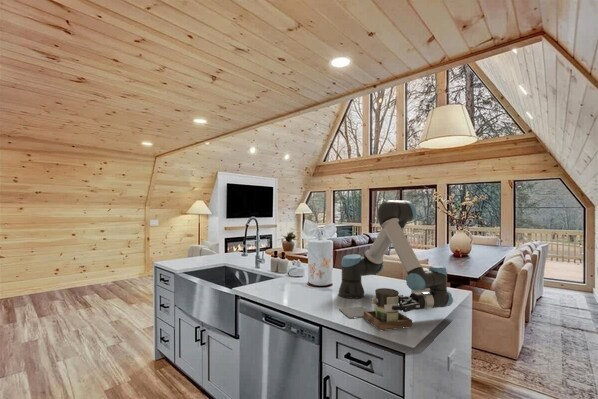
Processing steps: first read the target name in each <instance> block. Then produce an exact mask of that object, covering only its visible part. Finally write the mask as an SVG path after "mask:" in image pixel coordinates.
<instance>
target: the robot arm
mask: <svg viewBox="0 0 598 399" xmlns="http://www.w3.org/2000/svg"><path fill="white" fill-rule="evenodd" d="M376 214H377V216H376V217H377V220H378V223H379V226H380V227H381V229H380V231H379V233H378V235H377V236H376V238H375V240H374V241H373V243H372V245H371V247H370V248H369V249H367V250H366V251H365V252H364V253H363V255H360V254H358V253H357V254H355V253H353V254H346V255H344V256H342V258H341V264H340V265H341V283H340V286H339V289H338V295H339V296H340V297H342V298H346V299H361V298H364V297H365V289H364V285H363V283H362V277H364V276H365V277H366V276H373V275H378V274H380V273H381V272H382V271H383V269H384V256H385V254H386V252H387V250H388V249H389V248H390V246H391V245H392V247H393V248H394V249H393V250H395V253H396V255H397V256H398V259H399V261H400V262H401V264H402V266H403V268H404V270H405V273H406V275H407V276H406V278H405V281H406V286H407V287H408V288H409V289H410V290H423V289H427V288H430V291H429V292H417V293H411V292H410V294H409V296H407V295H405V296H404V295H403V294H398V304H388V305H384V311H385V312H387V311H397V310H398V311H401V312H403V313H406V312H407V313H408V312H411V311H414V310H417V311H418V310H423V309H424V310H428V309H437V308H446V307H450V306H452V305H453V302H454V299H453V296H452V293H451V292H450V291H449V290H448V272H447V268H446V267H445V266H443V265H438V264H437V265H436V264H434V265H433V264H432V265H430V266H429V267H428V269H429V271H427V272H424V270H423V268H424V267H423V266H422V264H421V262H420V261H419V258H417V255H416V253H415V251H414V249H413V248H412V246H411V244H410V242H409V240H408V239H407V237H406V234H405V233H404V231H403V229H404V228H405V226H406V225H407V223H409V222H412V221H414V220H415V218H416V216H417V210H416V207H415V205H414V203H412V202H411V201H409V200H404V199H403V200H393V199H392V200H391V199H390V200H385V201H382V202H381V203H380V205H379V207H378V208H377V213H376ZM446 272H447V273H446ZM375 299H376V296H375V297H372V298H371V300H372V301H371V304H372V305H376V300H375Z"/></svg>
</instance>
